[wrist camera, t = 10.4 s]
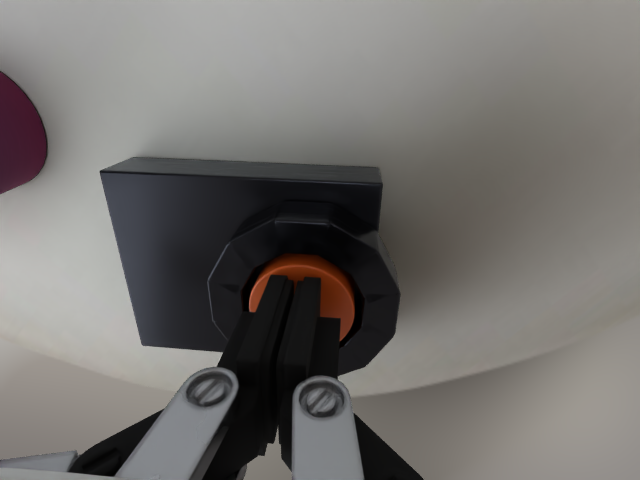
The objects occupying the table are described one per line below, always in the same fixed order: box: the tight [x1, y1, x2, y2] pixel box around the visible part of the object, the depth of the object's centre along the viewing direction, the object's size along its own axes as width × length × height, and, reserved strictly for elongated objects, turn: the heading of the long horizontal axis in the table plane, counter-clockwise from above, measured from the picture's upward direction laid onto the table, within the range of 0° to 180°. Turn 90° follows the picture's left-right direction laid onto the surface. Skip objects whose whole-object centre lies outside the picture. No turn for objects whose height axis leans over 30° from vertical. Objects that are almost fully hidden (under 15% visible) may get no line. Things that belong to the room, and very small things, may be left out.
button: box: [249, 253, 355, 341], centre depth 13 cm, size 4×4×2 cm
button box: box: [100, 157, 401, 376], centre depth 14 cm, size 11×8×4 cm
